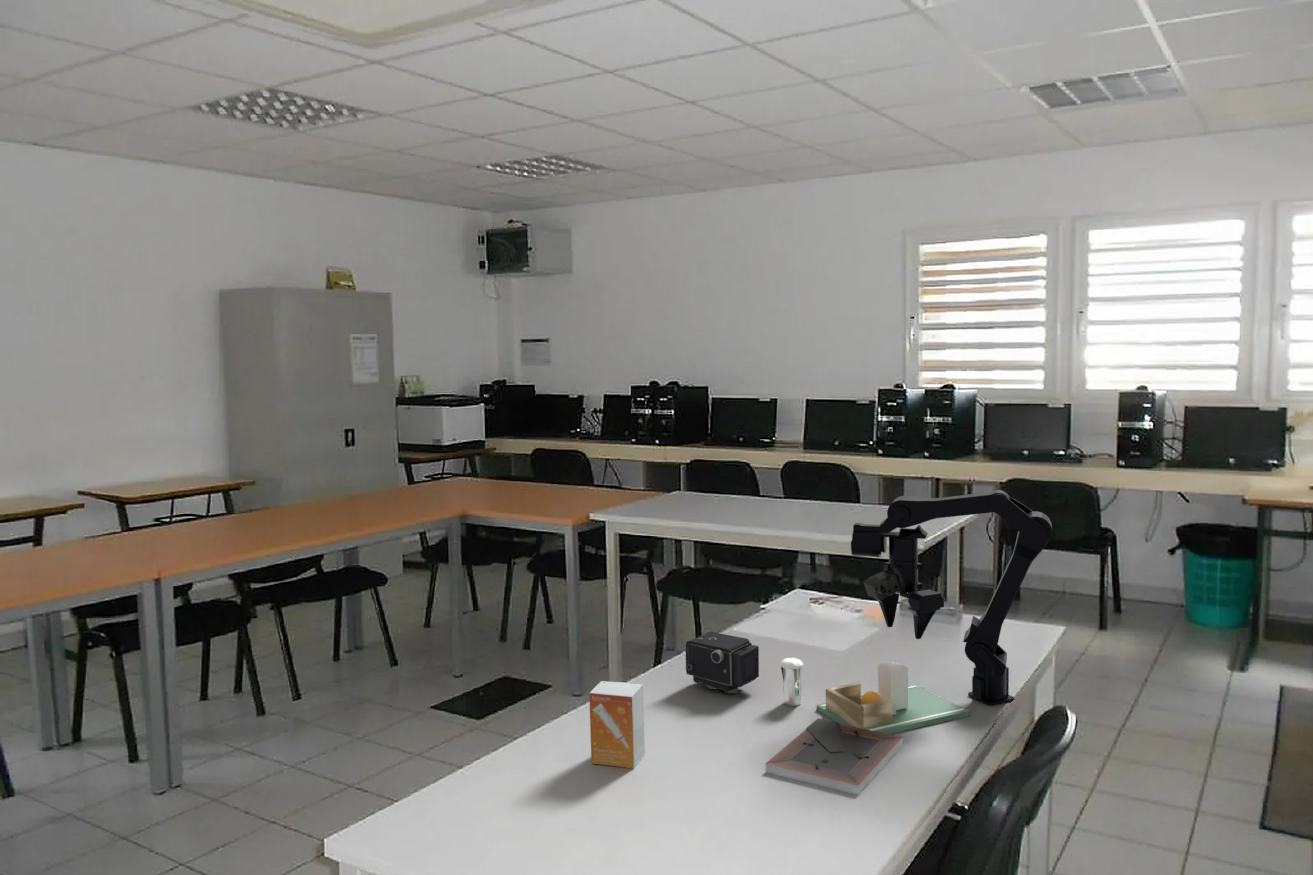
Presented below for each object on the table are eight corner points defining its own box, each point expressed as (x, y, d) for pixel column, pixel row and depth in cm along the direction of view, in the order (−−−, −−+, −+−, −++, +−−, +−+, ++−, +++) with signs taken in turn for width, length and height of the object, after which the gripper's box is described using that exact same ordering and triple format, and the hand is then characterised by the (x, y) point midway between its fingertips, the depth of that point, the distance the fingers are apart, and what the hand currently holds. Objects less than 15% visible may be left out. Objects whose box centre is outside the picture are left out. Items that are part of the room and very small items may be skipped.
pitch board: (915, 689, 196) (915, 684, 196) (969, 715, 181) (969, 710, 181) (816, 709, 186) (816, 704, 186) (865, 739, 172) (865, 733, 172)
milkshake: (807, 708, 187) (806, 659, 186) (780, 706, 188) (779, 658, 188) (808, 699, 192) (807, 651, 191) (781, 698, 193) (781, 650, 192)
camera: (682, 694, 200) (741, 702, 190) (676, 641, 199) (735, 647, 190) (711, 679, 208) (769, 686, 198) (705, 628, 207) (763, 633, 198)
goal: (857, 702, 187) (857, 682, 187) (892, 721, 177) (892, 700, 177) (825, 708, 184) (825, 688, 184) (859, 729, 174) (859, 708, 174)
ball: (862, 685, 183) (853, 704, 182) (874, 692, 179) (865, 711, 179) (876, 693, 184) (868, 711, 184) (889, 699, 181) (880, 719, 180)
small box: (590, 764, 165) (588, 692, 164) (603, 749, 171) (601, 679, 170) (634, 769, 162) (632, 696, 161) (646, 754, 169) (643, 683, 167)
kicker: (890, 698, 188) (890, 659, 187) (913, 710, 181) (912, 669, 181) (869, 702, 186) (869, 663, 185) (891, 715, 179) (891, 674, 179)
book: (817, 731, 178) (765, 776, 160) (817, 718, 178) (765, 762, 160) (903, 749, 169) (858, 799, 151) (903, 735, 169) (858, 784, 151)
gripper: (843, 554, 199) (844, 626, 200) (900, 572, 182) (900, 651, 183) (887, 548, 203) (887, 619, 204) (946, 565, 186) (946, 643, 187)
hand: (903, 632), depth 195 cm, fingers open, 9 cm apart
